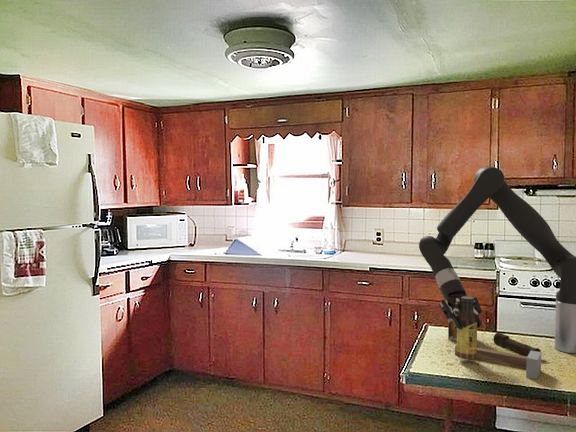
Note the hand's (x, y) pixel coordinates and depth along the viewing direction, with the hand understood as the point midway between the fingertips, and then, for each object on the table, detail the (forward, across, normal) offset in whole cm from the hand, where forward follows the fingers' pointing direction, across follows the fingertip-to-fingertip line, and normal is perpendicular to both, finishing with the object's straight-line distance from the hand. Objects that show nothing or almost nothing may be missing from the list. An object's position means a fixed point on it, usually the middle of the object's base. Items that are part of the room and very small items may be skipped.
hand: (470, 327), depth 158 cm
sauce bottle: (+6, 0, +9) cm, 11 cm away
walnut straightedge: (+8, +8, +8) cm, 14 cm away
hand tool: (+5, +21, +13) cm, 25 cm away
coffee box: (-7, +12, +24) cm, 28 cm away
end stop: (+18, +13, -1) cm, 22 cm away
